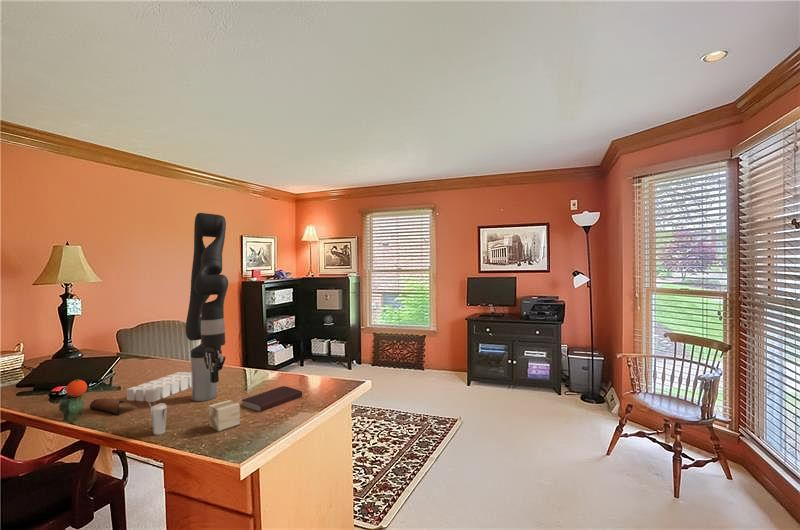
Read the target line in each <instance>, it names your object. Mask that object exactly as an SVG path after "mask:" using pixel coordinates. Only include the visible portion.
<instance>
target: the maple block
mask: <svg viewBox="0 0 800 530" xmlns="http://www.w3.org/2000/svg"><path fill="white" fill-rule="evenodd" d="M208 414H209V415H208V417H209V419H208V421H209V422H208V423H209V424H208V425H209V426H208V427H209V428H210V429H213V430H214V431H216V432H217V433H221V432H224V431H227V430H229V429H232V428H236V427H238V426H241V408H240V403H238V402H236V401H233V400H231V399H227V400H225V401H221V402H218V403H214V404H211V405H208Z"/></svg>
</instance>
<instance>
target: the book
mask: <svg viewBox="0 0 800 530" xmlns="http://www.w3.org/2000/svg"><path fill="white" fill-rule="evenodd" d="M301 398H303V391H302V390H299V389H297V388H293V387H290V386H286V385H282V386H279V387H278V386H277V387H276V388H273V389H270V390H267V391H263V392H261V393H258V394H255V395H253V396H250V397H245V398H244V399H243V398H242V399H241V401H242V405H241V407H245V408H248V409H251V410H254V411H257V412H260V413H262V412H265V411H267V410H270V409H273V408H275V407H278V406H281V405H284V404H286V403H290V402H292V401H295V400H297V399H301Z"/></svg>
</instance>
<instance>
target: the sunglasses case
mask: <svg viewBox="0 0 800 530" xmlns="http://www.w3.org/2000/svg"><path fill="white" fill-rule="evenodd" d="M89 409H90V410H100V411H104V412H108V413H112V414H115V415H118V416H121V415H124V414H126V413H129V412H133V411H135V410H138V409H139V407H137V406H136V405H134V404H131V403H128V402H126V401H125V400H122V399H113V398H107V397H106V398H104V397H103V398H97V399H94V400H92V401H91V402H90V404H89Z"/></svg>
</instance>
